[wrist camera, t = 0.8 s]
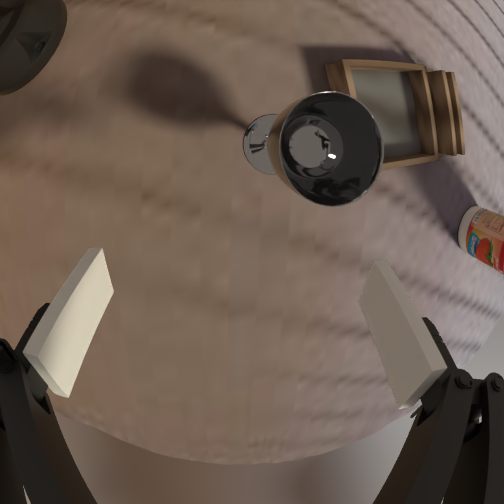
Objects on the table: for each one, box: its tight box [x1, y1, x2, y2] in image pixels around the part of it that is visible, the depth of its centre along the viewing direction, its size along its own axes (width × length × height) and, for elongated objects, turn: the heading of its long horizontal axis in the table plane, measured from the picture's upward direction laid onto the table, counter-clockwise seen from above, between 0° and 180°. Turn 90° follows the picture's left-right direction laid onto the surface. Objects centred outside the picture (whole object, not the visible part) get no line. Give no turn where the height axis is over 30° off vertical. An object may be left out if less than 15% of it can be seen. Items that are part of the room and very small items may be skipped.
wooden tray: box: [325, 59, 465, 171], centre depth 29 cm, size 14×19×6 cm
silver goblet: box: [243, 91, 384, 207], centre depth 24 cm, size 8×8×15 cm
